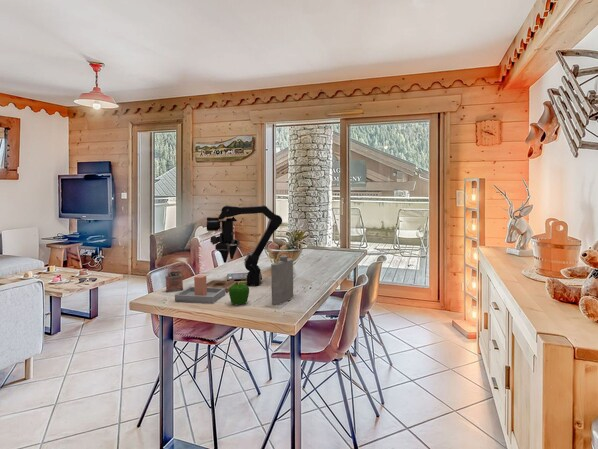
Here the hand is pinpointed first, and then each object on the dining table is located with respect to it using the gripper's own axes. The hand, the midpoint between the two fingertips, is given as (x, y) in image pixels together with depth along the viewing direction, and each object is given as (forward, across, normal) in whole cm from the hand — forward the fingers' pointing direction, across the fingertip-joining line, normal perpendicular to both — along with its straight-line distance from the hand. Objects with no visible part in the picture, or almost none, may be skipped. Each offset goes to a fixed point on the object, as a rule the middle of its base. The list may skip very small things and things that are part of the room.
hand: (228, 260), depth 184 cm
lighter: (+13, +13, -23) cm, 29 cm away
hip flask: (+13, +19, +33) cm, 40 cm away
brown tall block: (+12, +22, -5) cm, 25 cm away
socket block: (+13, +5, -3) cm, 14 cm away
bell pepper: (+13, +27, +15) cm, 34 cm away
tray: (+13, +22, -5) cm, 26 cm away
